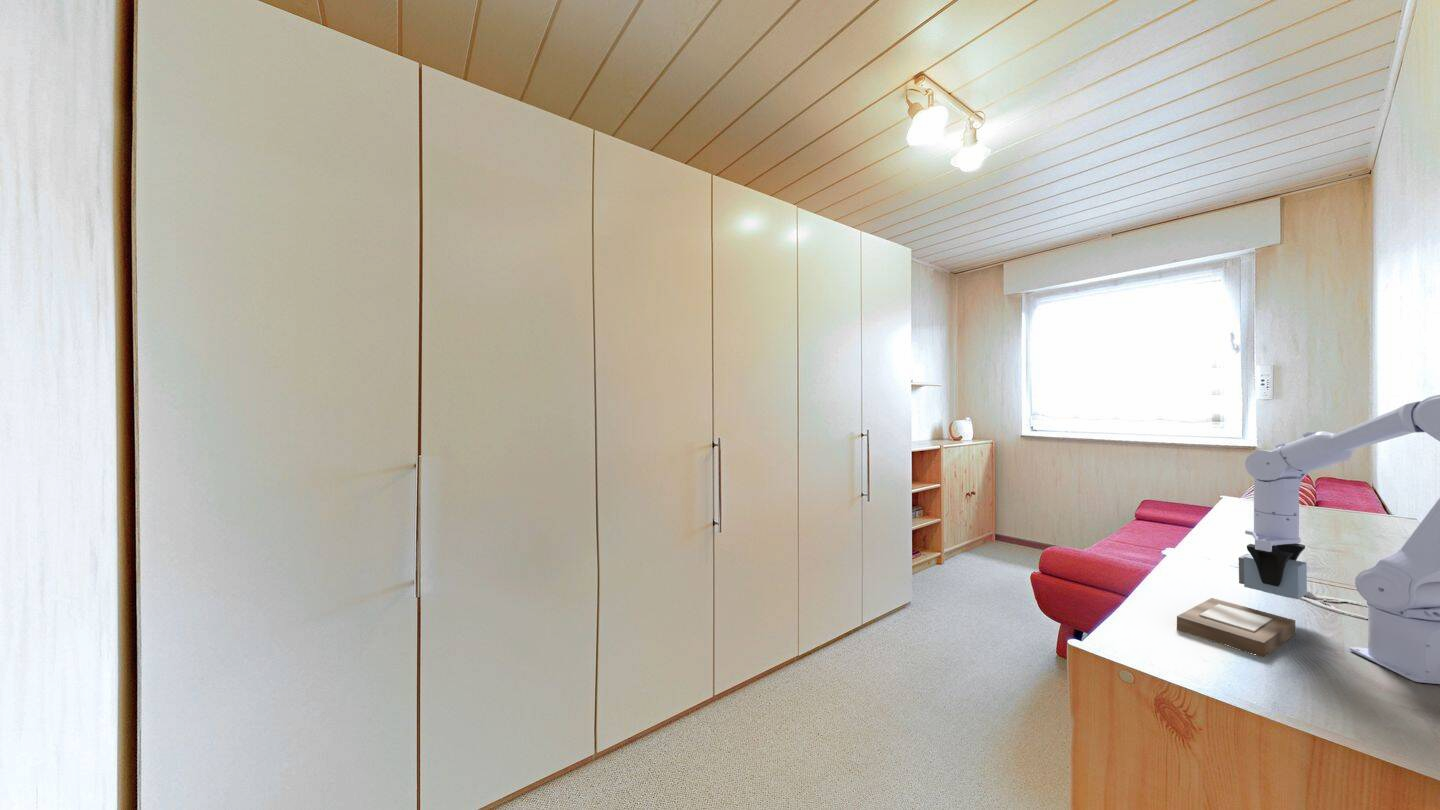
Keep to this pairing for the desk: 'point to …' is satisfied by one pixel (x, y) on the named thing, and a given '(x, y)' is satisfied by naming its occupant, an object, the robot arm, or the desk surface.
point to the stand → (1237, 626)
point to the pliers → (1328, 603)
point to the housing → (1290, 583)
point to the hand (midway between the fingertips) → (1275, 581)
